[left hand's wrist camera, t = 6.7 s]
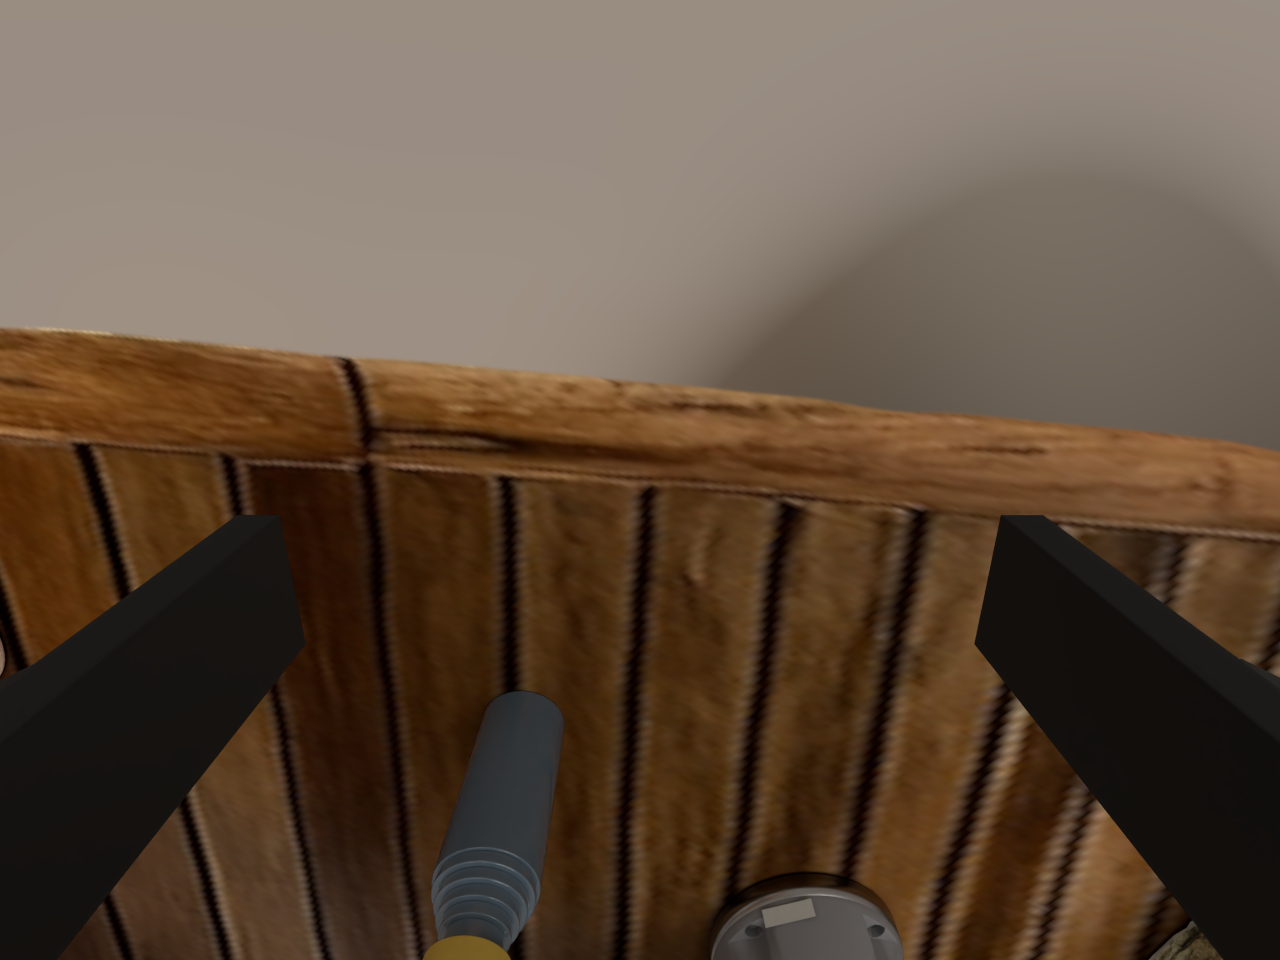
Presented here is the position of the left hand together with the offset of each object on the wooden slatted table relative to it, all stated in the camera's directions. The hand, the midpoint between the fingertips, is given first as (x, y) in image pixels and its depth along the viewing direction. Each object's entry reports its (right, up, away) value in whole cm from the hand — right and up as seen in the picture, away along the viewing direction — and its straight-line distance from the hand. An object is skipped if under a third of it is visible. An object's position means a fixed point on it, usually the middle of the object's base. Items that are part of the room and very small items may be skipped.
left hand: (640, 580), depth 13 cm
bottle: (-8, -15, +36) cm, 40 cm away
